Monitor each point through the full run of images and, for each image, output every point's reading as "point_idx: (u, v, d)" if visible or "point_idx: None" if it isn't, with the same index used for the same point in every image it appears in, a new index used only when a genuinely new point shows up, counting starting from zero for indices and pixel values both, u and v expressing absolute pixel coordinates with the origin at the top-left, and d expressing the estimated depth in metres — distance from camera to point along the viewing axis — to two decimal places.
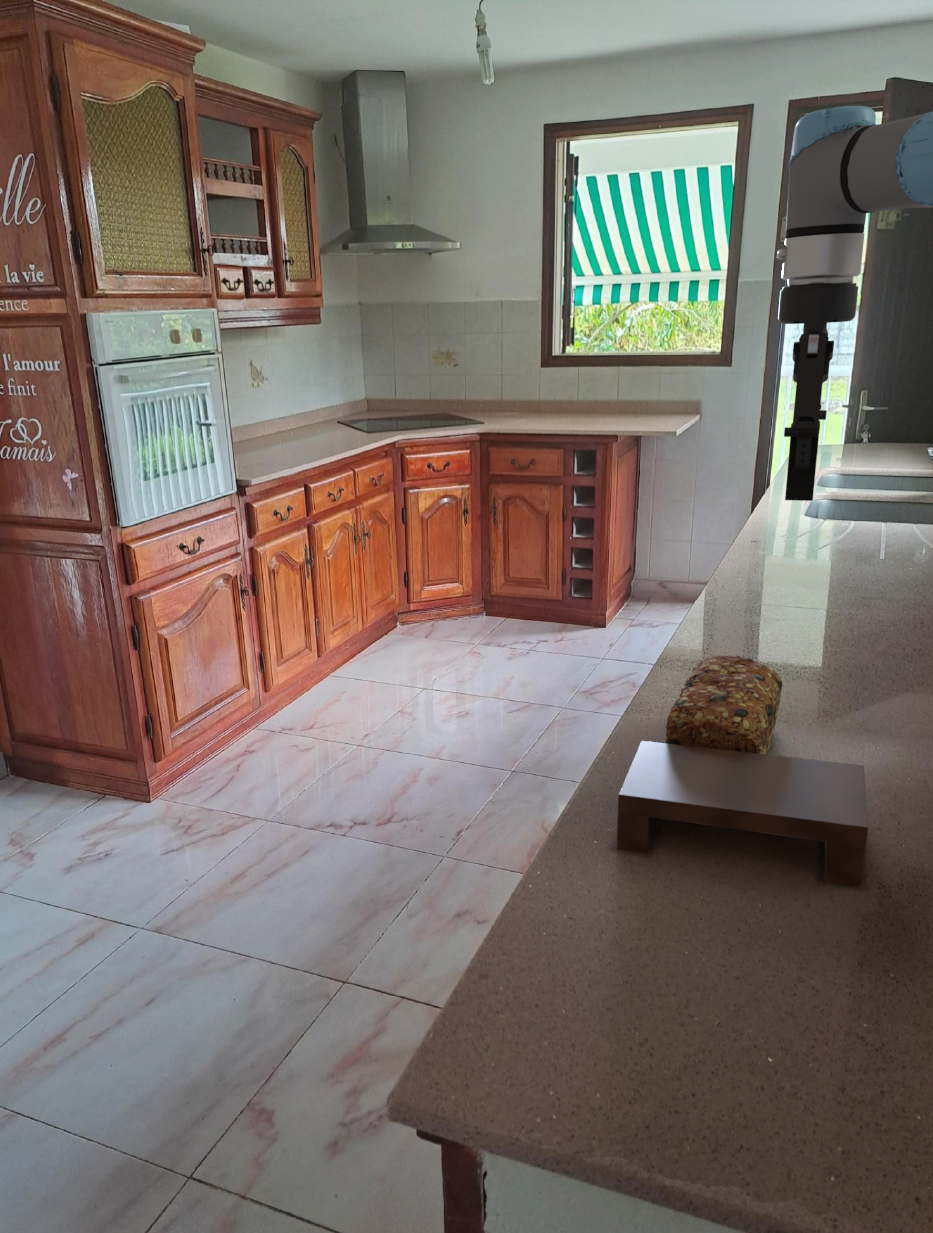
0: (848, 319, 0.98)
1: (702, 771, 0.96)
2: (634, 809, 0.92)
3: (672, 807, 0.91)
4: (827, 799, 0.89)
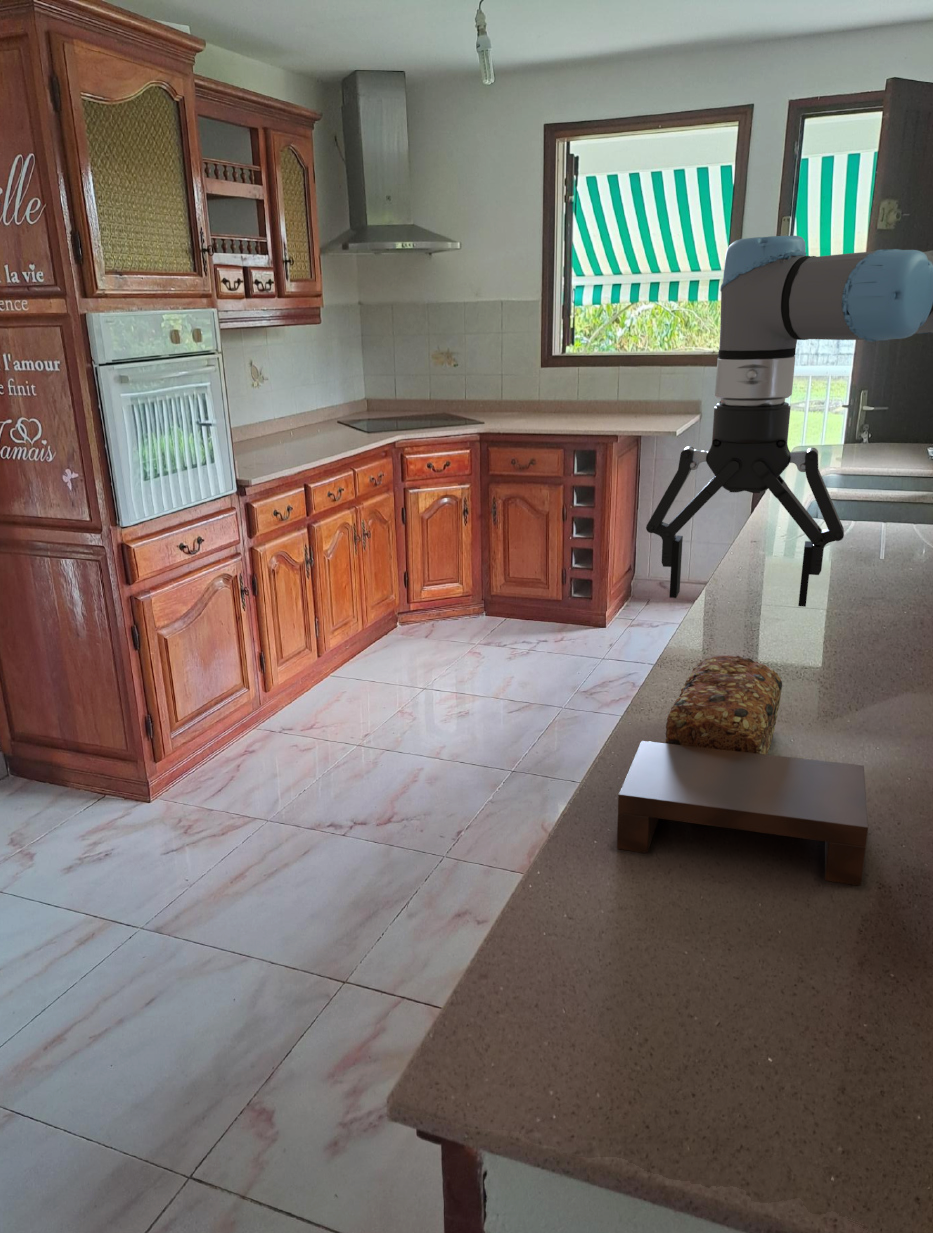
0: None
1: (702, 771, 0.96)
2: (634, 809, 0.92)
3: (672, 807, 0.91)
4: (827, 799, 0.89)
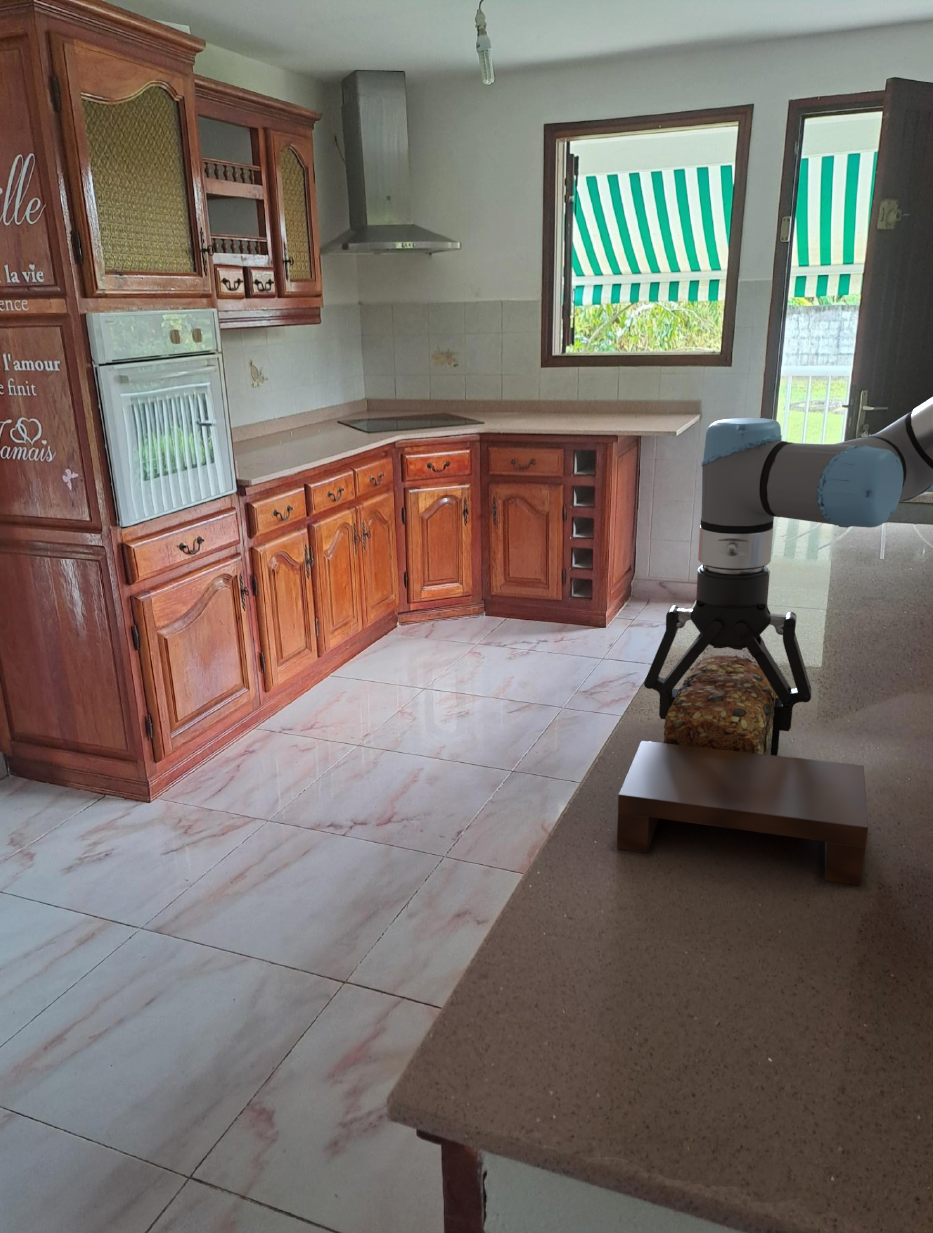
0: None
1: (702, 771, 0.96)
2: (634, 809, 0.92)
3: (672, 807, 0.91)
4: (827, 799, 0.89)
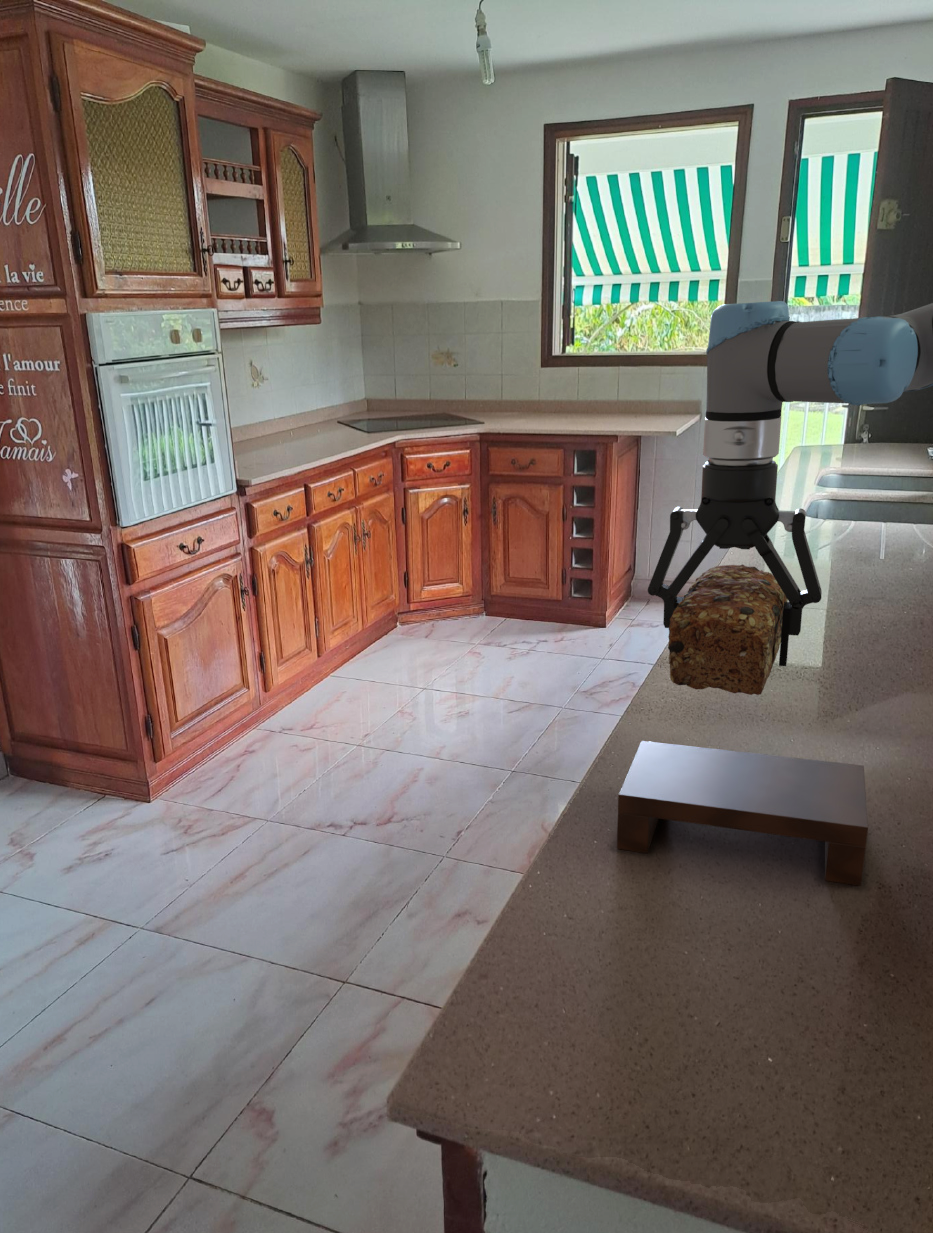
0: None
1: (702, 771, 0.96)
2: (634, 809, 0.92)
3: (672, 807, 0.91)
4: (827, 799, 0.89)
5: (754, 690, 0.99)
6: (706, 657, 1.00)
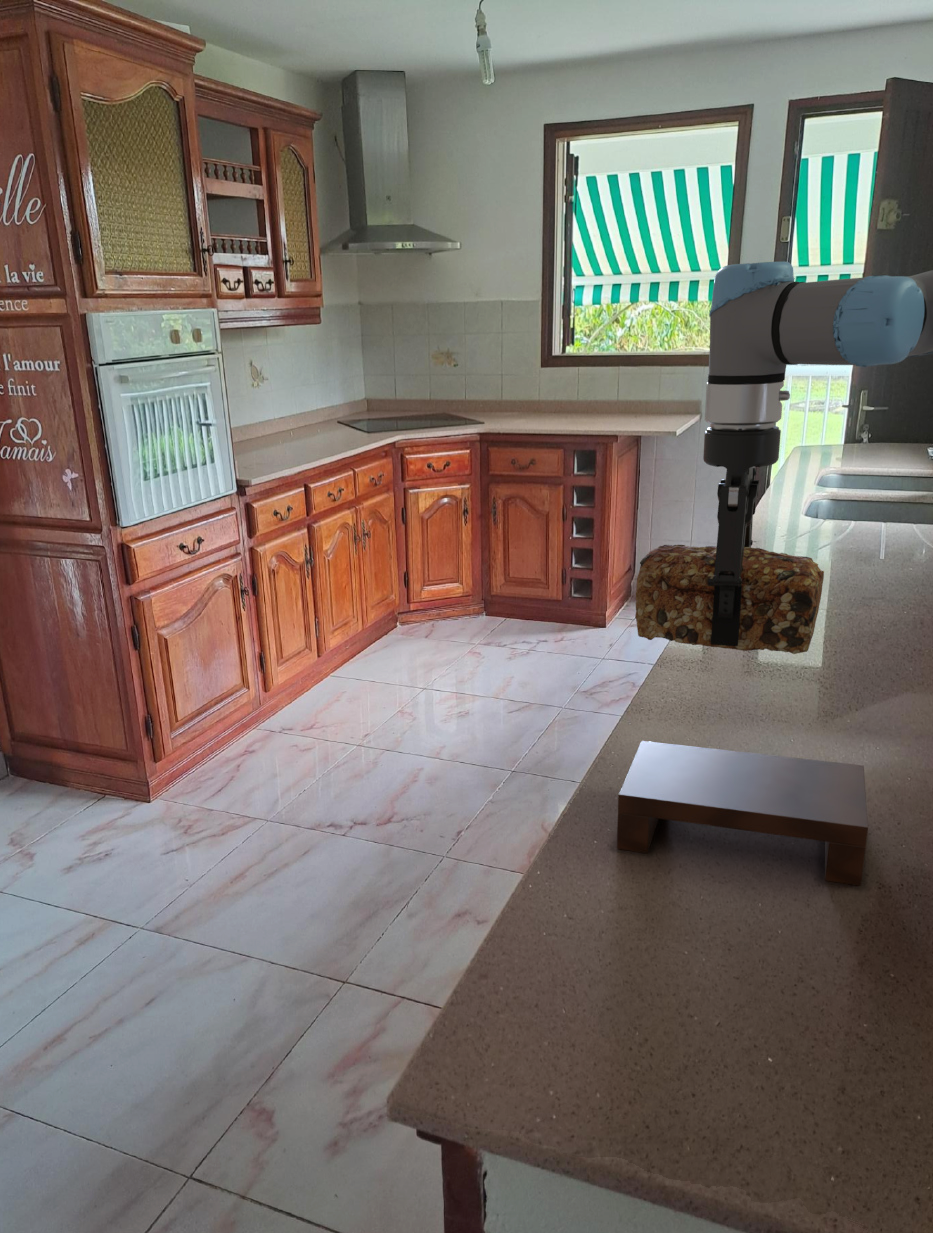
0: None
1: (702, 771, 0.96)
2: (634, 809, 0.92)
3: (672, 807, 0.91)
4: (827, 799, 0.89)
5: None
6: None
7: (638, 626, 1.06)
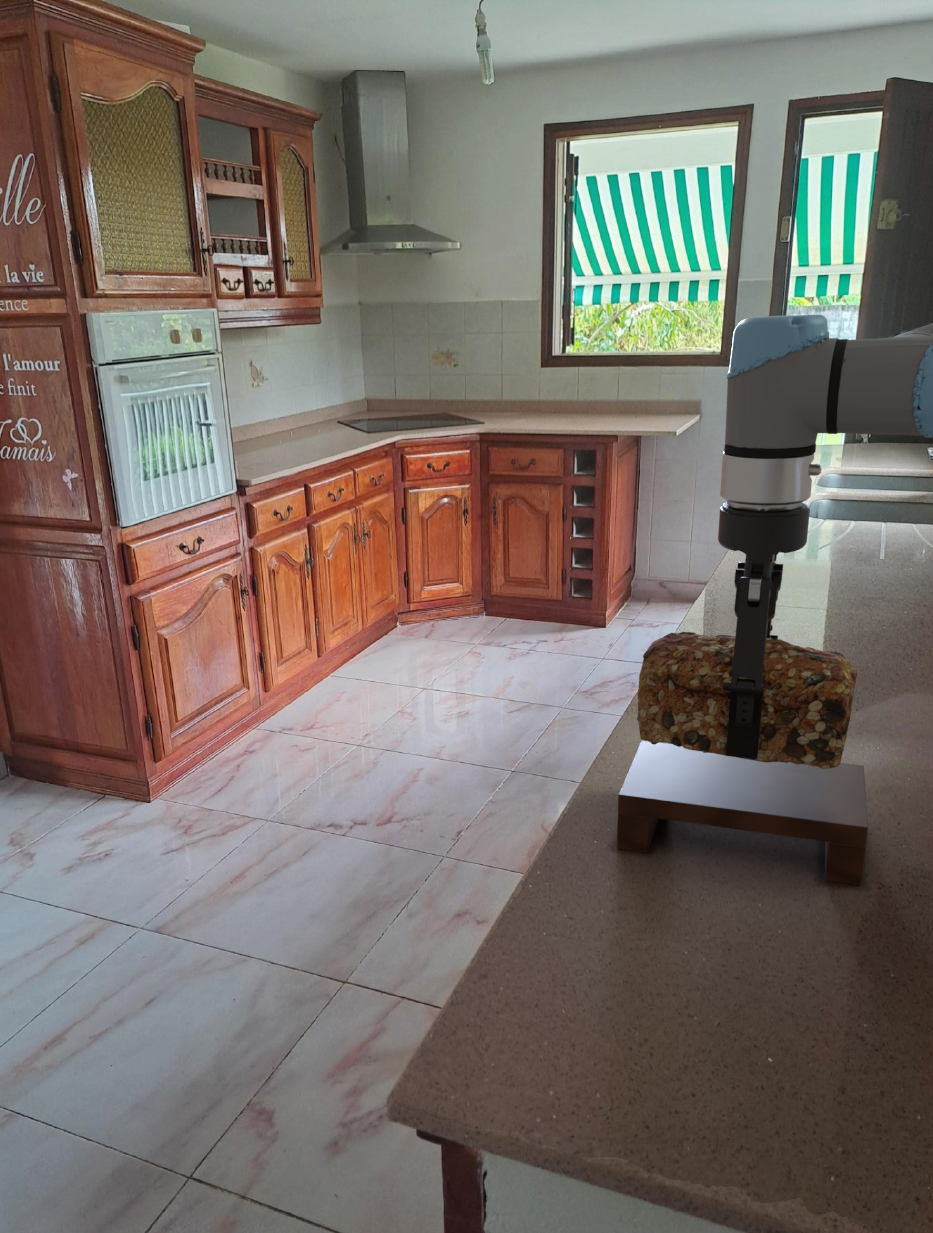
0: None
1: (702, 771, 0.96)
2: (634, 809, 0.92)
3: (672, 807, 0.91)
4: (827, 799, 0.89)
5: None
6: None
7: (640, 728, 0.92)
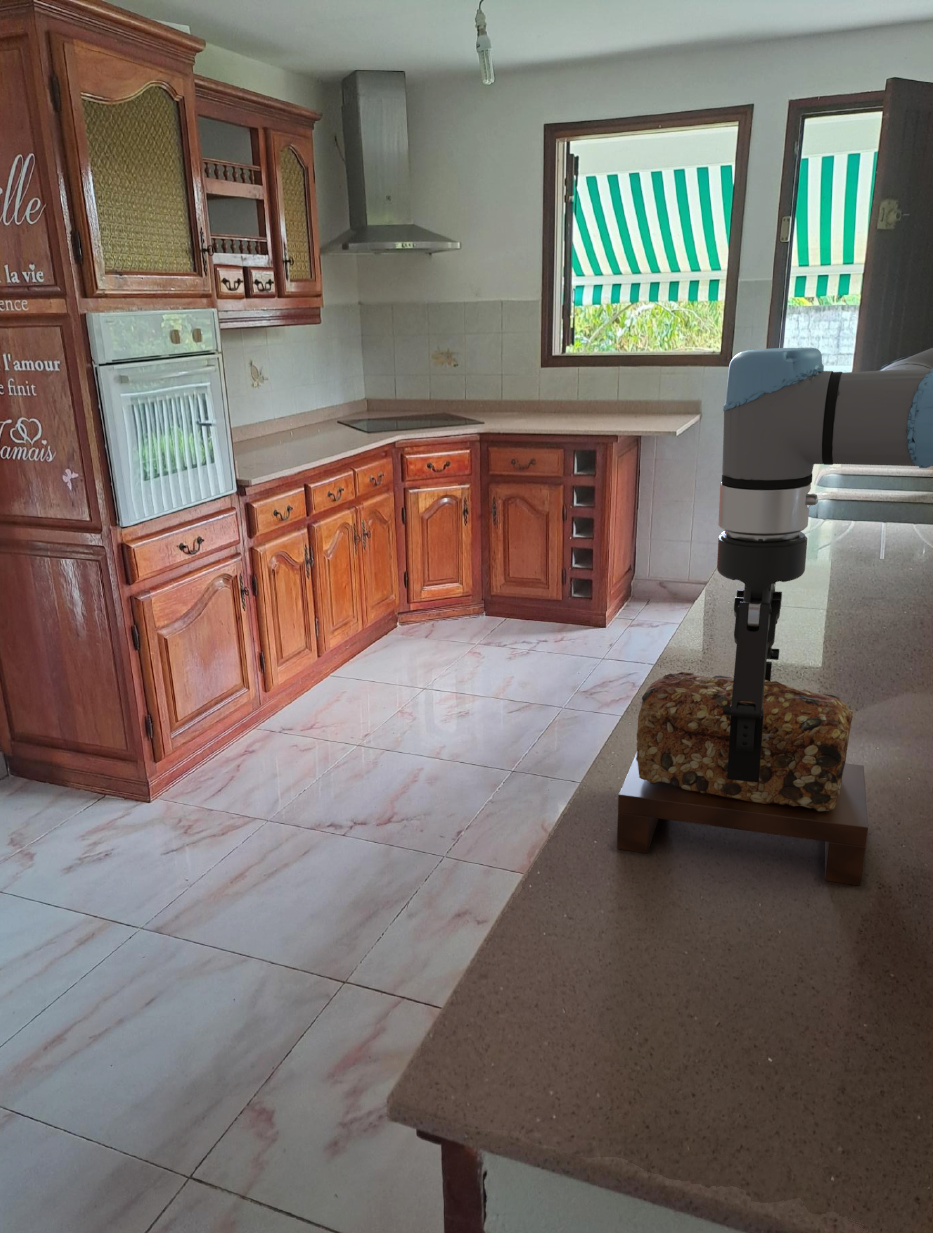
0: None
1: None
2: (634, 809, 0.92)
3: (672, 807, 0.91)
4: None
5: None
6: None
7: (639, 768, 0.93)
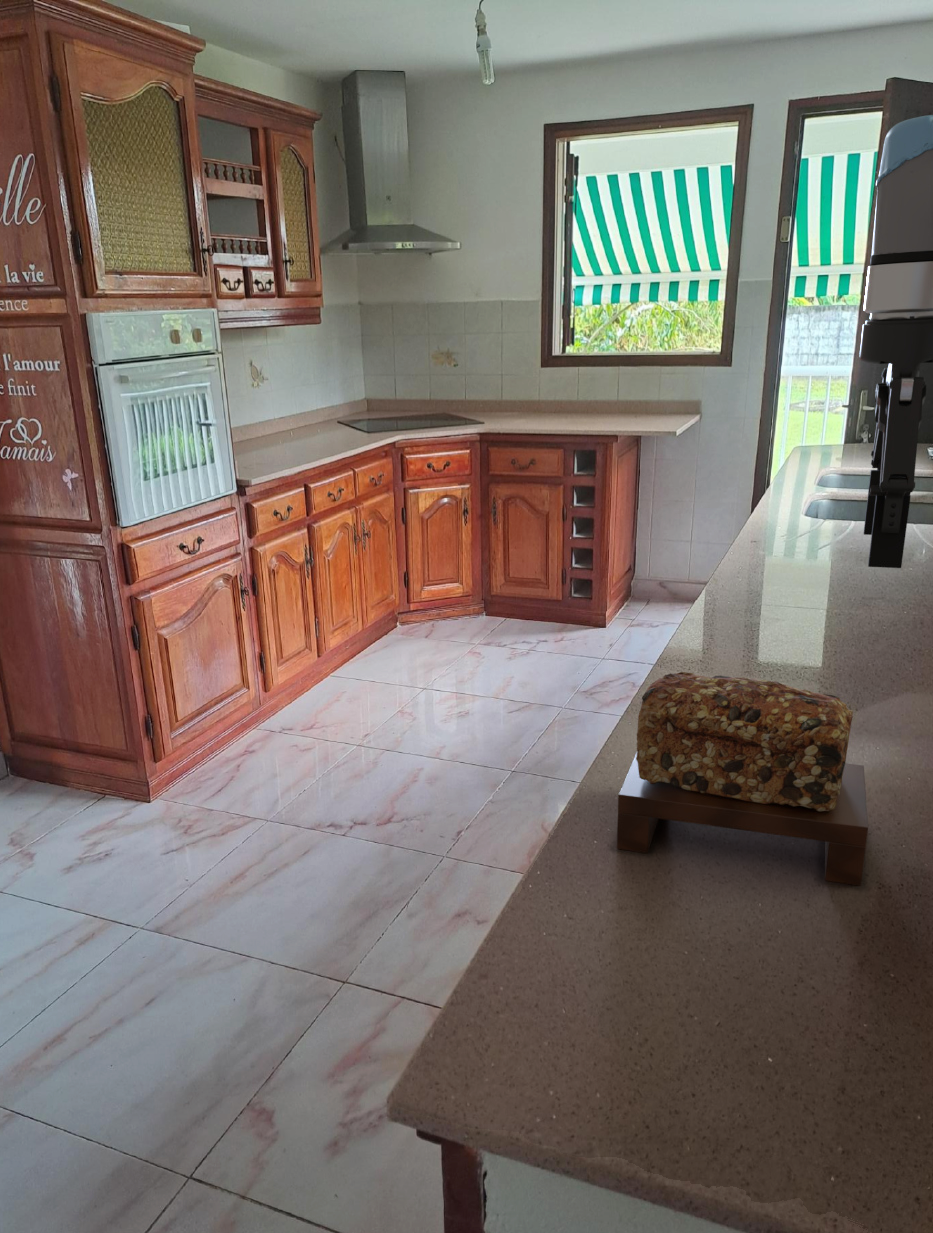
0: None
1: None
2: (634, 809, 0.92)
3: (672, 807, 0.91)
4: None
5: None
6: None
7: (639, 768, 0.93)
